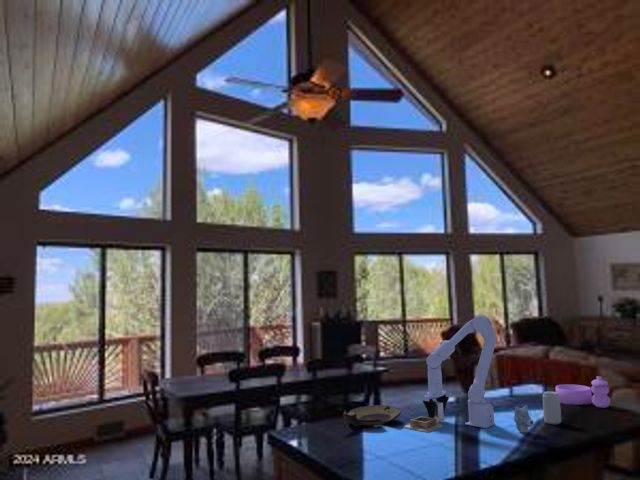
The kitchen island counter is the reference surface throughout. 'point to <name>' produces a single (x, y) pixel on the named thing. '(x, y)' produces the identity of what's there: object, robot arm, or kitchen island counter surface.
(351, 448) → the kitchen island counter surface
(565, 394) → the container set
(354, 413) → the olive shallow bowl
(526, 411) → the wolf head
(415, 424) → the collar
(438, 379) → the robot arm
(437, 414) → the peg
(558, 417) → the beverage can
